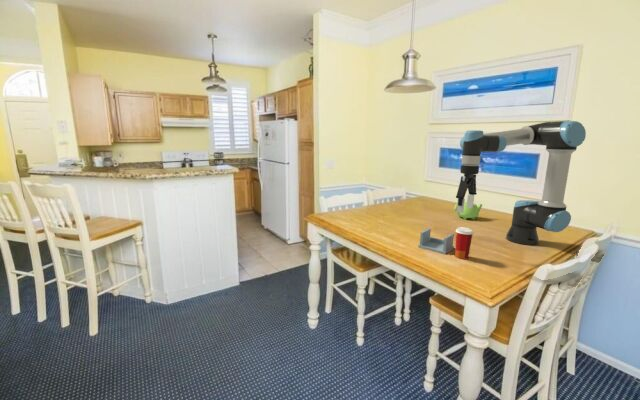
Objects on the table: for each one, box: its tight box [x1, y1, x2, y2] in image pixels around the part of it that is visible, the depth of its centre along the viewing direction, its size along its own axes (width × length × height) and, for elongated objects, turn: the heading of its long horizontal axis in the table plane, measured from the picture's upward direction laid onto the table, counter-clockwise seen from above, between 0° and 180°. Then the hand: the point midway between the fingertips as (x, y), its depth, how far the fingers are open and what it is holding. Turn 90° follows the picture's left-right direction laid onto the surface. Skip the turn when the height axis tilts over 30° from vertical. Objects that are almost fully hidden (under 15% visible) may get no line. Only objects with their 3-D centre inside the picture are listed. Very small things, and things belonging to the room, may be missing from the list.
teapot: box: [453, 201, 483, 221], centre depth 214 cm, size 20×13×13 cm
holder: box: [417, 227, 455, 255], centre depth 156 cm, size 14×12×8 cm
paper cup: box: [454, 226, 474, 260], centre depth 143 cm, size 8×8×14 cm
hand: (464, 210), depth 141 cm, fingers open, 13 cm apart
